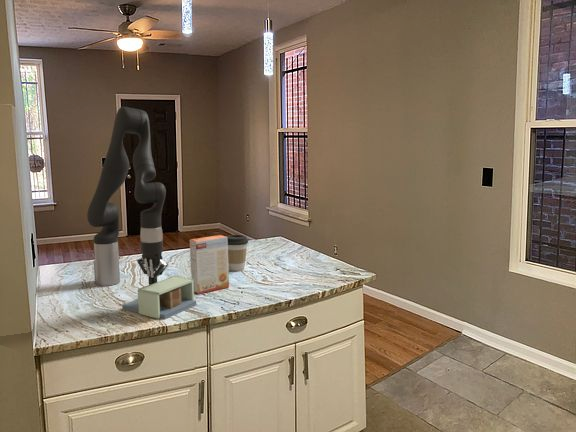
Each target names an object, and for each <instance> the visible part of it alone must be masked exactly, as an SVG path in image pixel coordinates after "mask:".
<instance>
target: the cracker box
mask: <svg viewBox="0 0 576 432" xmlns="http://www.w3.org/2000/svg"><path fill="white" fill-rule="evenodd" d="M189 253H190V254H189V255H190V256H189V257H190V258H189V259H190V274H191V275H190V276H191V277H190V279H193V283H194V293H196V294H197V295H200V294H205V293H209V292H214V291H218V290H223V289H227V288H230V276H229V275H230V274H229V273H230V272H229V271H230V270H229V268H228V239H227V237H226V236H224V235H222V234H217V235H212V236H205V237H198V238H191V239H189Z"/></svg>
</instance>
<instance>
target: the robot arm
mask: <svg viewBox="0 0 576 432" xmlns="http://www.w3.org/2000/svg"><path fill="white" fill-rule="evenodd" d="M126 133H127V134H133V135H138V138H139V142H138V145H137V146H136V149H134V152H133V154H132V166H133V170H134V171H133V172H134V176H135V183H134V184H135V185H134V194H133V196H134V199H135V201H136V202H137V203H139V204H152V206H151V207H150V208H147V209H143V210H142V211H141V212H140V216H139V217H140V231H139V232H140V233H139V235H140V237H139V238H140V253H141V257H140V258H139V259H137V260H136V261H137V264H138V265H139V268H140V269H141V271H142V273H143V274H144V275H147V277H148V285H151V284H153V283H156V282H158V277H159V276H162V275H163V273H164V272H165V270H166V269H167V267H168V265H169V263H168V262H165V261H164V260H163V255H162V253H163V251H164V244H163V243H164V242H163V241H164V238H163V229H162V212H163V207H164V204H165V200H166V195H167V189H166V186H165V184H163V183H162V182H160V181H159V182H158V181H157V182H155V181H154V182H150V181H152V180H154V179H155V178H156V176H157V172H156V168H155V162H154V159H153V155H152V142H151V127H150V119H149V115H148V113H147V111H145V110H143V109H138V108H135V107H134V108H133V107H128V106H121V107H120V108H118V110H117V111H116V114H115V119H114V123H113V129H112V133H111V138H110V142H109V147H108V149H107V152H106V156H105V159H104V162H103V164H102V165H103V166H102V168H101V173H100V176H99V180H98V183H97V186H96V189H95V192H94V194H93V197H92V199H91V201H90V204H89V205H88V209H87V213H86V217H87V218H86V219H87V222H88V224H89V225H90V226H91V227H93V228H99V227H102V228H101V230H100V231H98V233H97V234H94V236H93V247H94V248H93V249H94V251H93V252H94V260H93V274H94V283H95V284H97V286H103V287H108V286H113V285H118V284H119V283H120V282H121V276H120V275H121V273H120V257H119V255H120V254H119V253H120V252H119V234H120V215H119V210H118V209H119V208H118V207H117V205H116V204H115V203H114V202H110V199H111V198H112V197H113V195H114V194H115V193H116V192H117V191H118V190H119V189H120V188H121V187H122V185H123V184H124V183H125V181H126V179H127V176H128V173H129V169H130V160H129V157H128V155H127V152H126V149H125V146H124V137H125V134H126Z"/></svg>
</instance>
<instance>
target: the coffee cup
mask: <svg viewBox="0 0 576 432" xmlns="http://www.w3.org/2000/svg"><path fill="white" fill-rule="evenodd" d="M226 237H227V239H228V268H229V271H230V272H241V271H244V270H245V268H246V267H245V266H246V258H247V248H248V244H249V239H248V238H247V236H246V235H243V234H231V235H227V236H226Z"/></svg>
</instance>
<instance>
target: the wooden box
mask: <svg viewBox="0 0 576 432" xmlns="http://www.w3.org/2000/svg"><path fill="white" fill-rule="evenodd" d="M159 301H160V307H165V308H169V309H172V308H174V307H176V306H179V305H181V288H179V287H178V288H176V289H173V290H171V291H168V292H166V293H163V294H160V295H159Z"/></svg>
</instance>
